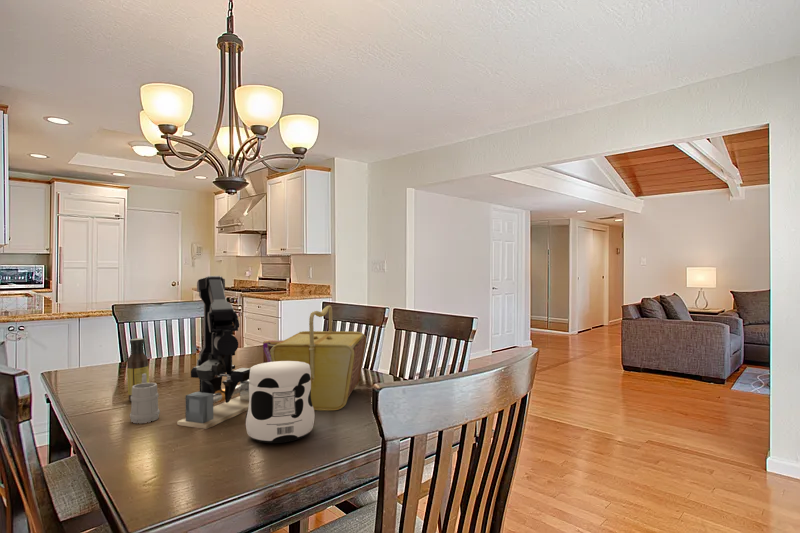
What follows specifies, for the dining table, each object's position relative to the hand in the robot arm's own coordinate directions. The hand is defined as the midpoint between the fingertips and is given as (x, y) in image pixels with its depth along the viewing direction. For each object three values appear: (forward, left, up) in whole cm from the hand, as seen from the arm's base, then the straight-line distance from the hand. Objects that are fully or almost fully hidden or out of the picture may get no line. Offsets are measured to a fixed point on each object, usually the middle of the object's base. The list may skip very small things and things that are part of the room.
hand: (222, 401), depth 142 cm
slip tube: (0, +3, 0) cm, 3 cm away
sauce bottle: (-37, +4, -4) cm, 37 cm away
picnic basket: (+21, +23, -4) cm, 31 cm away
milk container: (+27, -10, -4) cm, 29 cm away
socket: (0, -9, -3) cm, 10 cm away
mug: (-19, -10, -4) cm, 22 cm away
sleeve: (0, +15, -3) cm, 15 cm away
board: (0, +4, -4) cm, 5 cm away
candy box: (-8, +40, -4) cm, 41 cm away
